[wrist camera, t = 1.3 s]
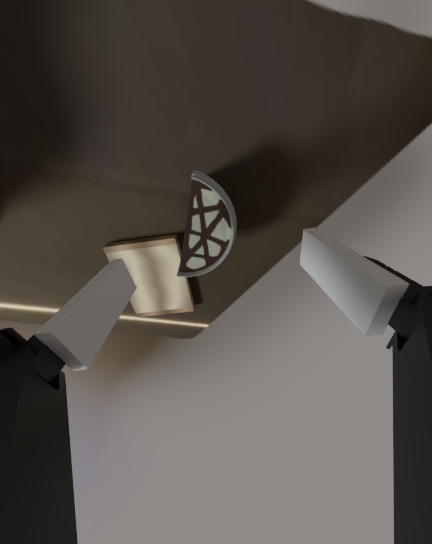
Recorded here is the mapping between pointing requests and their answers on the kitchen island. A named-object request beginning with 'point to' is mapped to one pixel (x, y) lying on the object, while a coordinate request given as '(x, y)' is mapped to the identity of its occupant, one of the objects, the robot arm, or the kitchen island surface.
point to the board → (154, 274)
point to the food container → (207, 227)
